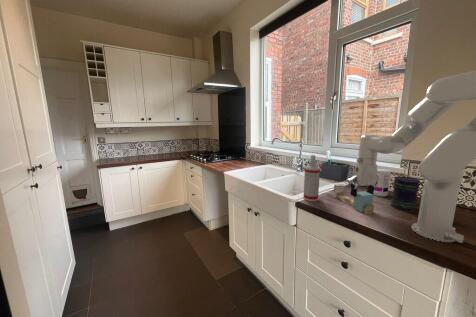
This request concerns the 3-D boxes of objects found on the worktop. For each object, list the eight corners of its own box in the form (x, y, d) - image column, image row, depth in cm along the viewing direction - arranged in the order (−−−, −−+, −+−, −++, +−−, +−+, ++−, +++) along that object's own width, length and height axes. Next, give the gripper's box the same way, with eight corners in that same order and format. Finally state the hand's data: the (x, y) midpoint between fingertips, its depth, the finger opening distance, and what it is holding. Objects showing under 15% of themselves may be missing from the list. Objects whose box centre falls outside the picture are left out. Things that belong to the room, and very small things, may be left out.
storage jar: (420, 212, 98) (425, 182, 95) (396, 210, 100) (401, 181, 97) (407, 204, 108) (411, 176, 105) (386, 203, 110) (390, 175, 107)
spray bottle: (300, 198, 117) (302, 154, 113) (308, 195, 122) (311, 153, 117) (312, 202, 111) (315, 156, 107) (320, 199, 116) (323, 155, 111)
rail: (373, 213, 98) (375, 198, 96) (366, 214, 97) (367, 199, 95) (339, 196, 120) (340, 184, 118) (333, 197, 119) (334, 184, 117)
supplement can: (373, 196, 120) (376, 171, 117) (369, 191, 127) (371, 168, 125) (389, 197, 117) (393, 172, 115) (384, 192, 125) (387, 168, 122)
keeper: (371, 210, 100) (373, 194, 98) (361, 212, 98) (362, 195, 97) (363, 206, 104) (364, 191, 103) (353, 207, 103) (354, 192, 102)
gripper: (357, 163, 92) (352, 199, 95) (388, 162, 96) (382, 196, 99) (345, 160, 99) (341, 193, 102) (374, 158, 103) (369, 191, 106)
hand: (361, 195), depth 101 cm, fingers open, 9 cm apart
